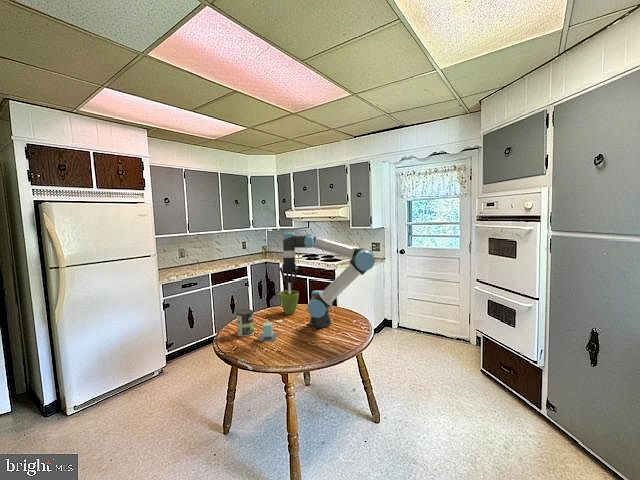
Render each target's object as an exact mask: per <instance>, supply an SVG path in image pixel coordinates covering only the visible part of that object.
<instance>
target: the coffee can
mask: <svg viewBox="0 0 640 480" xmlns="http://www.w3.org/2000/svg"><path fill="white" fill-rule="evenodd" d="M235 314H236V333H237V336H238V337H250V336H252V335H253V334H254V333H255V331H254V310H252V309H249V308H247V309H240V310H237V311H236V313H235Z"/></svg>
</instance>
